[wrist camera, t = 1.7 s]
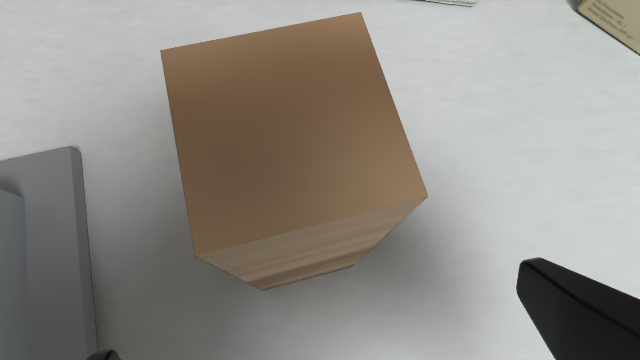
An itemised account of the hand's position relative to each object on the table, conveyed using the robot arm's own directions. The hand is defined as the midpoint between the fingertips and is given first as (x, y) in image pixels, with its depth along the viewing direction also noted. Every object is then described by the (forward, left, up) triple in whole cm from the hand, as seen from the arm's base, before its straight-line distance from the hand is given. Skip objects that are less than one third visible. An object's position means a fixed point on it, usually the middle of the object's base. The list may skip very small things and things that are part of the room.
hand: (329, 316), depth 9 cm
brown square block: (+4, 0, -11) cm, 11 cm away
